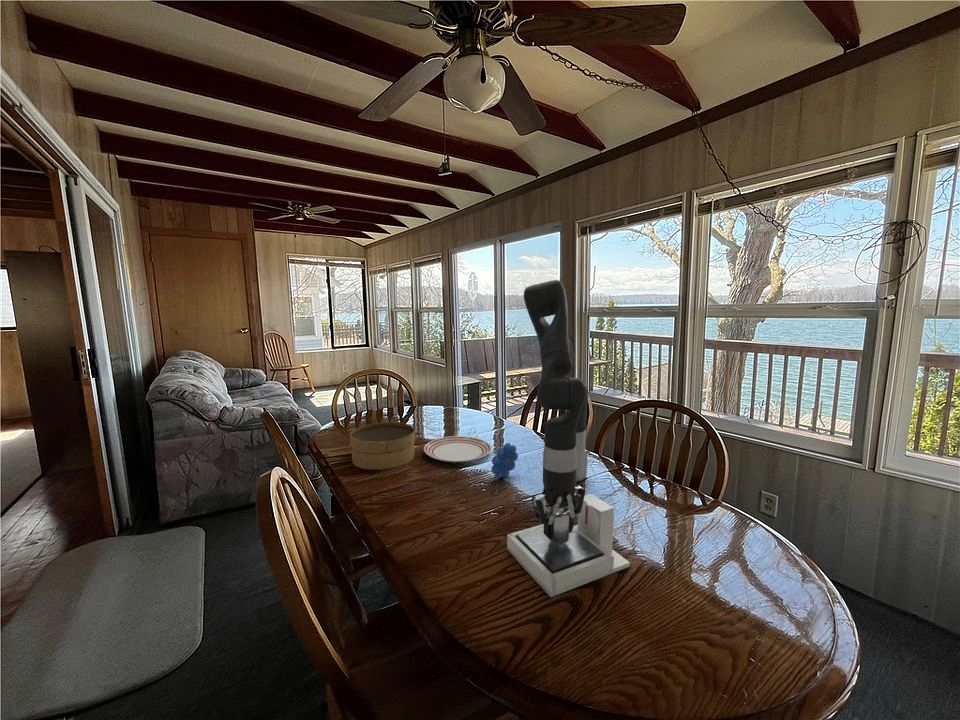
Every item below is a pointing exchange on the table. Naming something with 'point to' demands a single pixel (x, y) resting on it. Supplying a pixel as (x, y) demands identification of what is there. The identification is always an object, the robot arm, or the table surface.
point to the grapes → (504, 460)
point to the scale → (599, 532)
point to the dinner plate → (457, 449)
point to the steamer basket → (382, 445)
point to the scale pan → (559, 549)
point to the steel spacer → (560, 527)
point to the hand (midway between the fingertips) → (558, 533)
